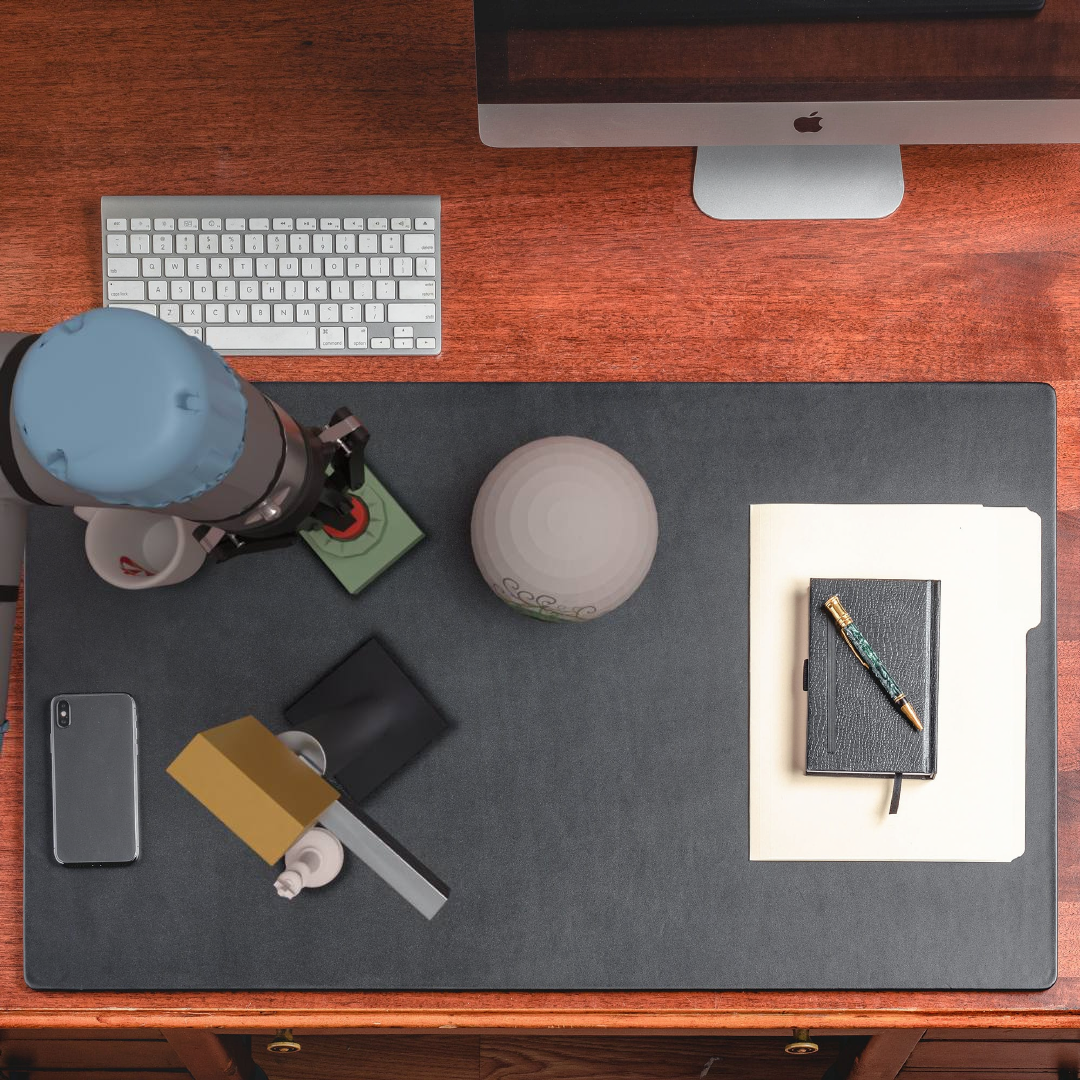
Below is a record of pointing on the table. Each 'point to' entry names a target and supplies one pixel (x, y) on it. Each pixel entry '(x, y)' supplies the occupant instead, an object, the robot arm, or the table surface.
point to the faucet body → (363, 721)
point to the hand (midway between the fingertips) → (339, 514)
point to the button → (357, 527)
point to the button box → (367, 537)
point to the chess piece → (310, 862)
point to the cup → (140, 547)
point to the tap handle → (292, 806)
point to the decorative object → (564, 529)
